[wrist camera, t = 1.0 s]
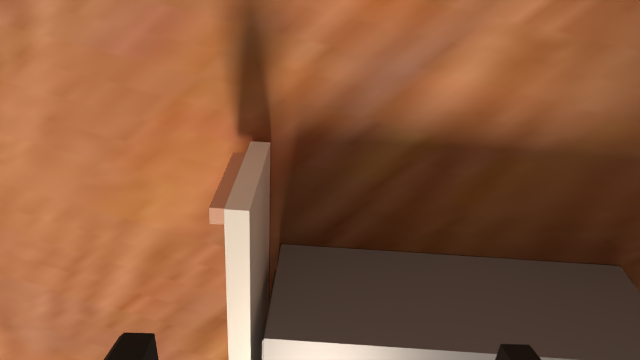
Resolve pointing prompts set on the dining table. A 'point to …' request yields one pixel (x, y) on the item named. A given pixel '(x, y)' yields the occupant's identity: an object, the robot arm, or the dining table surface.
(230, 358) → the side door
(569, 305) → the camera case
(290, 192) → the dining table surface
